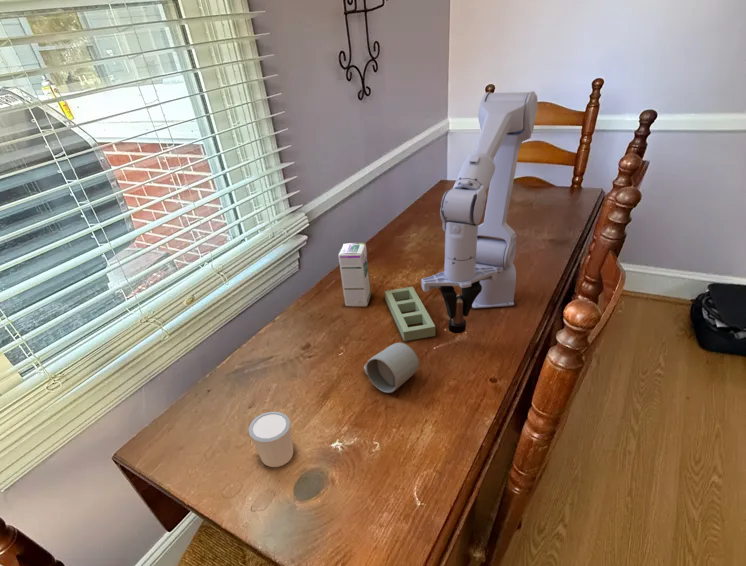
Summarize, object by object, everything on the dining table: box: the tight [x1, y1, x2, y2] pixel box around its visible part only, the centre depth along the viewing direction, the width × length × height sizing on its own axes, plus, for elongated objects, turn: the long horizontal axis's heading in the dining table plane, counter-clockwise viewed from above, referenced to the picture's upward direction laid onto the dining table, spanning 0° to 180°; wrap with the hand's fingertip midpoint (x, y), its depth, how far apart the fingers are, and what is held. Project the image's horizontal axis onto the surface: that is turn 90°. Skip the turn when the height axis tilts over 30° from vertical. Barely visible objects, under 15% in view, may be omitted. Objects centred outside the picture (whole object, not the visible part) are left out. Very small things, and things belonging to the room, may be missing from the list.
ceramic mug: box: [363, 341, 420, 394], centre depth 92 cm, size 11×8×8 cm
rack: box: [384, 286, 437, 342], centre depth 111 cm, size 7×18×2 cm, turn 8°
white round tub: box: [248, 411, 294, 468], centre depth 80 cm, size 7×7×7 cm
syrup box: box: [337, 242, 372, 307], centre depth 115 cm, size 6×6×14 cm
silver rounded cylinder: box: [448, 294, 467, 334], centre depth 96 cm, size 4×4×8 cm
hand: (457, 314), depth 97 cm, fingers closed on silver rounded cylinder, 2 cm apart
